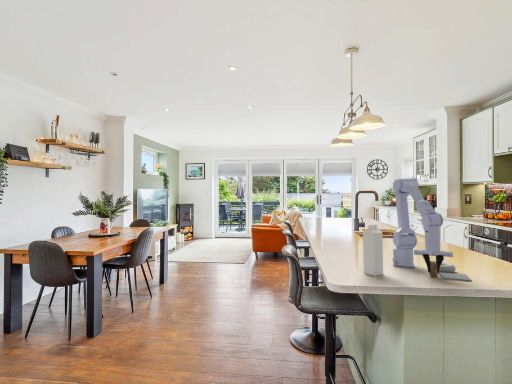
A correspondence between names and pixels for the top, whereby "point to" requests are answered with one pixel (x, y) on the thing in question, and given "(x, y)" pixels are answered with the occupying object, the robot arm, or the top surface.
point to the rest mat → (454, 276)
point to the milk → (373, 251)
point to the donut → (447, 268)
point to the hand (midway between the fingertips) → (433, 272)
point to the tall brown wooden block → (433, 269)
